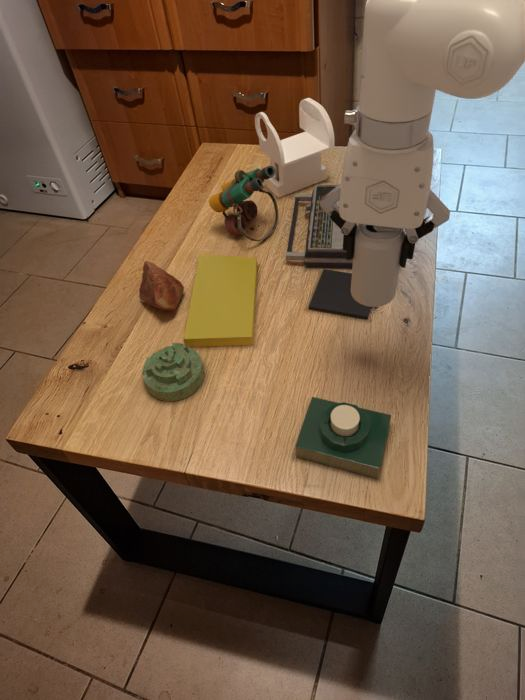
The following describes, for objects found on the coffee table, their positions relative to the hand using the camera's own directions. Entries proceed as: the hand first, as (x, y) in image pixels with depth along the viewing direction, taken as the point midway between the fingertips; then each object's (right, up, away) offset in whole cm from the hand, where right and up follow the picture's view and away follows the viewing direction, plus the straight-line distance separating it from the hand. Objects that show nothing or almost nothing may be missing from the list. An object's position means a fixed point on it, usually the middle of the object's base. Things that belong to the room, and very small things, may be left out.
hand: (377, 256), depth 65 cm
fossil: (-35, -3, +31) cm, 47 cm away
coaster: (0, -2, +27) cm, 27 cm away
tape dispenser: (-7, +29, +55) cm, 63 cm away
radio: (+1, +13, +40) cm, 42 cm away
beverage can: (+1, -5, +5) cm, 7 cm away
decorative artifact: (-30, -17, +18) cm, 39 cm away
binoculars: (-19, +15, +44) cm, 50 cm away
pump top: (-4, -23, +3) cm, 24 cm away
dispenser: (-3, -26, +7) cm, 27 cm away
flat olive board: (-23, -3, +29) cm, 37 cm away
